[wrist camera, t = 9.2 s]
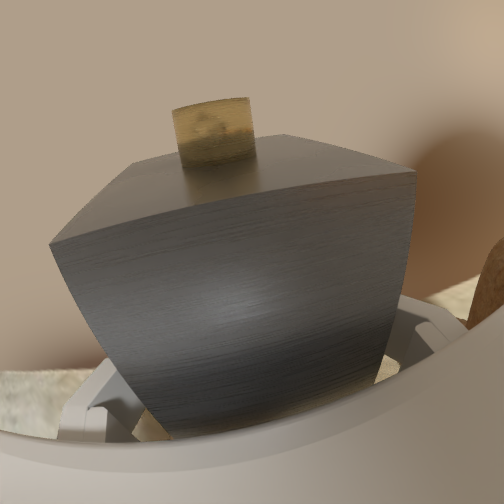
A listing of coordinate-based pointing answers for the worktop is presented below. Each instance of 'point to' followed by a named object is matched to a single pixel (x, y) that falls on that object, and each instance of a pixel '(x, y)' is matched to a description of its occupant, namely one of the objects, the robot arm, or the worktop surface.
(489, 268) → the brown piece
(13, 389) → the worktop surface
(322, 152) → the block
